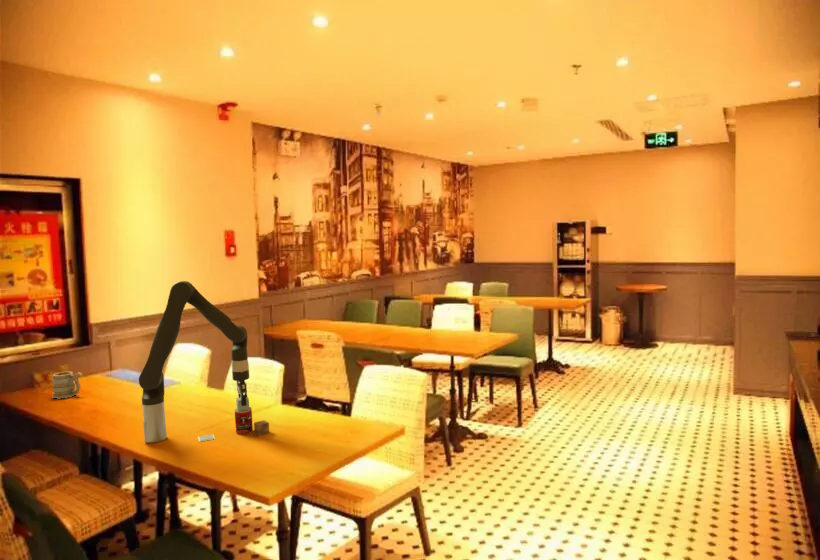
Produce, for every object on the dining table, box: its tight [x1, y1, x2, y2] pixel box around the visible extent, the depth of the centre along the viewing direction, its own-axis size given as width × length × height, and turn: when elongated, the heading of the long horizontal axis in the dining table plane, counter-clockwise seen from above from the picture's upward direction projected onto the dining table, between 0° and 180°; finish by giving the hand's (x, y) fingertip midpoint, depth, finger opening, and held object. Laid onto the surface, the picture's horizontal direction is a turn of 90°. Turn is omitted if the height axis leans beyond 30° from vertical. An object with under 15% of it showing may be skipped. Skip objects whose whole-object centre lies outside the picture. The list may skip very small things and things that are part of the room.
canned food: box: [234, 406, 254, 436], centre depth 274 cm, size 8×8×11 cm
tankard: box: [51, 371, 83, 400], centre depth 352 cm, size 20×13×15 cm, turn 73°
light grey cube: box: [235, 396, 250, 411], centre depth 274 cm, size 5×5×5 cm
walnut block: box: [253, 420, 270, 436], centre depth 272 cm, size 5×5×5 cm
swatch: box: [197, 434, 216, 443], centre depth 268 cm, size 7×7×1 cm
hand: (242, 403), depth 274 cm, fingers open, 8 cm apart
